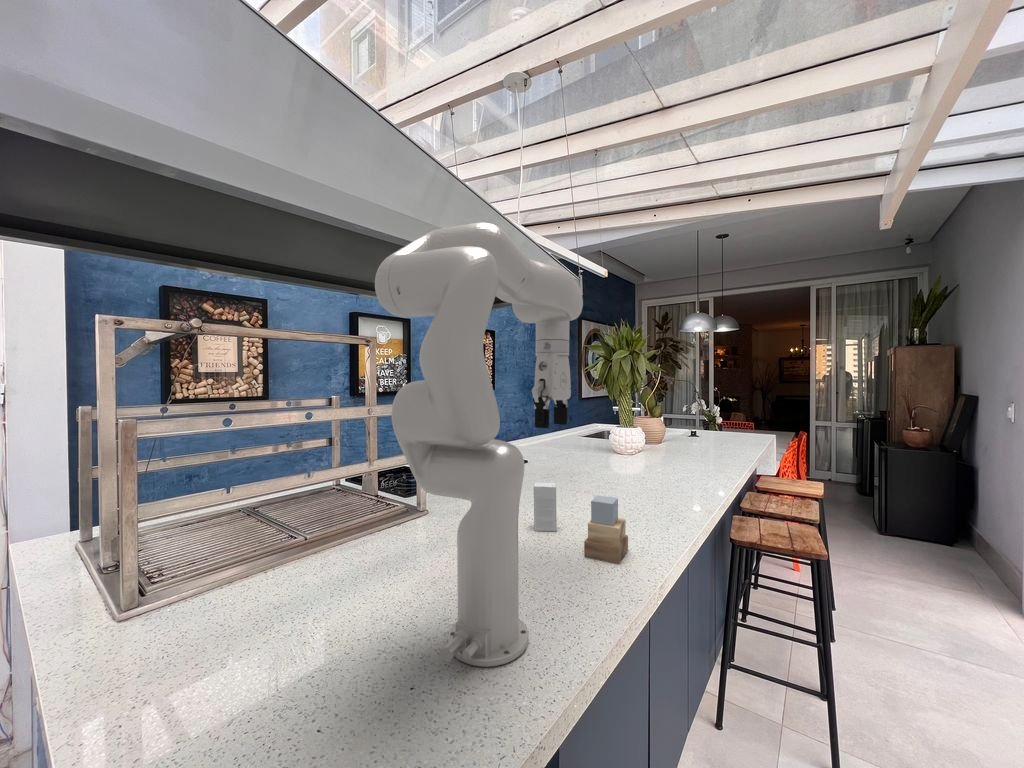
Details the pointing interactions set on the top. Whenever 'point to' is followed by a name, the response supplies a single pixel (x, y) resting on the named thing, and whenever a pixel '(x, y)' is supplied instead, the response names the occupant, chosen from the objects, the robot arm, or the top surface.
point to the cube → (604, 510)
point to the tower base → (606, 551)
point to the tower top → (607, 532)
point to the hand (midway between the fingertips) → (551, 425)
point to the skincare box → (545, 507)
